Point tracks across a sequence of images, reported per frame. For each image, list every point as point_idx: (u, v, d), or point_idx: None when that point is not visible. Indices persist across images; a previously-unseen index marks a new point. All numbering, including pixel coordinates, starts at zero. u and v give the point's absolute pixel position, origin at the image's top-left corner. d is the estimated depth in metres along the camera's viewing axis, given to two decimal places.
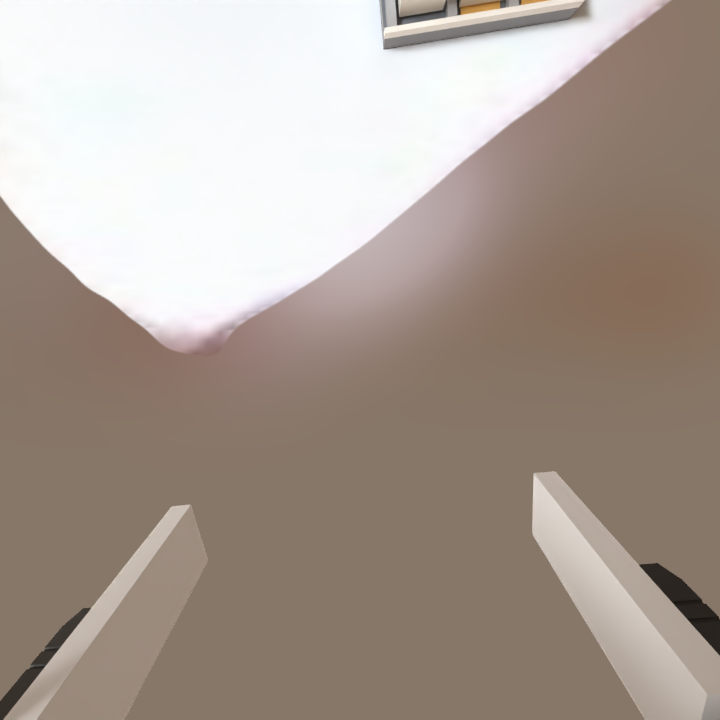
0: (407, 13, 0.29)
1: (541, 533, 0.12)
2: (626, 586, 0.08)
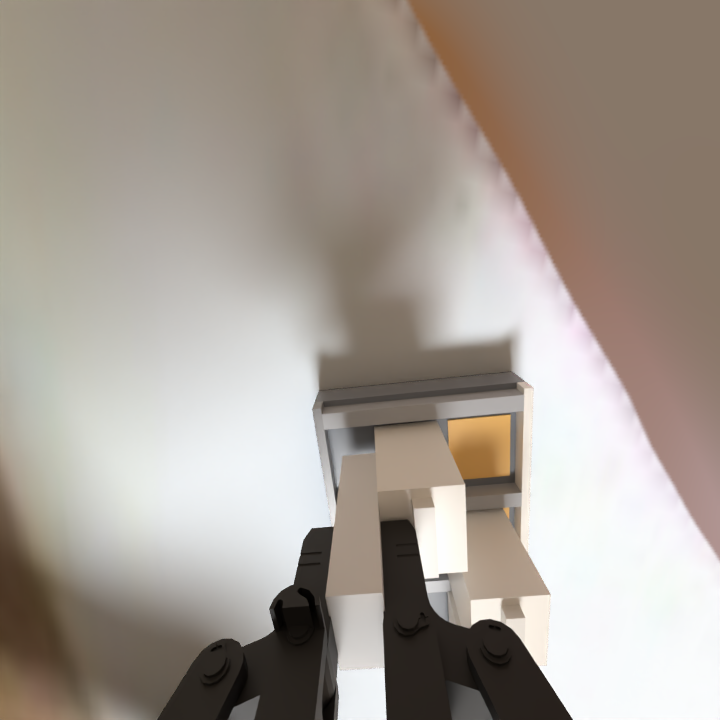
0: None
1: None
2: (359, 532, 0.11)
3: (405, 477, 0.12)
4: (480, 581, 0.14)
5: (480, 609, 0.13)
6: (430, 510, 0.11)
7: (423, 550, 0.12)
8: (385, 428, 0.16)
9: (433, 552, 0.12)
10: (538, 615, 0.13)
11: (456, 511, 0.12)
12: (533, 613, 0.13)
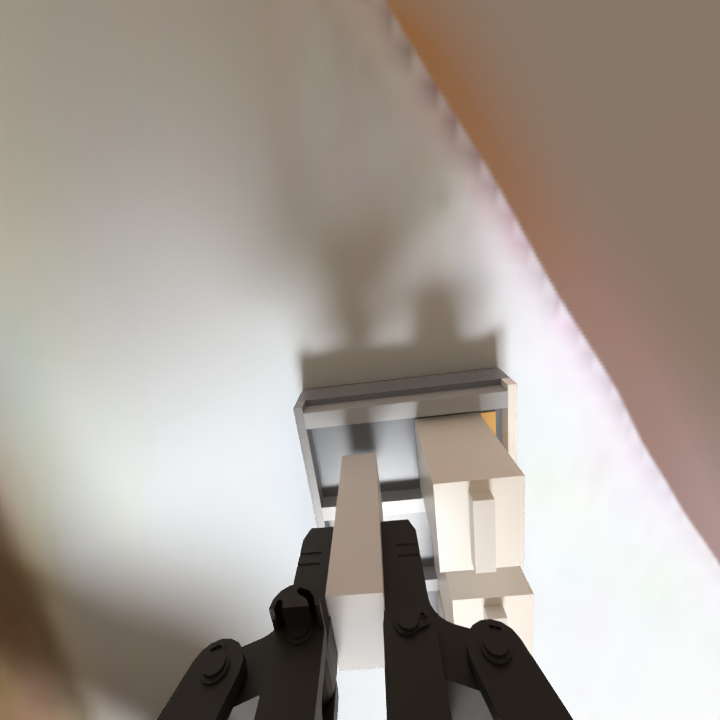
0: None
1: None
2: (359, 532, 0.11)
3: (459, 468, 0.12)
4: (463, 581, 0.13)
5: (462, 609, 0.13)
6: (490, 502, 0.11)
7: (481, 543, 0.11)
8: (426, 421, 0.16)
9: (491, 545, 0.11)
10: (522, 615, 0.13)
11: (514, 503, 0.11)
12: (516, 613, 0.13)
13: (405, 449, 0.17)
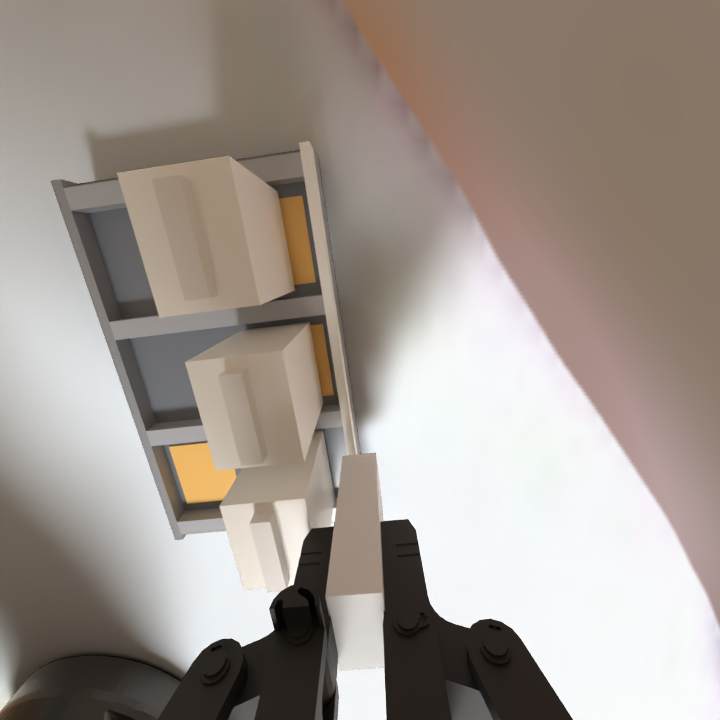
0: (332, 489, 0.17)
1: None
2: (359, 532, 0.11)
3: None
4: (215, 353, 0.11)
5: (200, 376, 0.10)
6: (175, 180, 0.08)
7: (180, 252, 0.09)
8: None
9: (194, 254, 0.09)
10: (275, 384, 0.10)
11: (226, 203, 0.09)
12: (268, 381, 0.10)
13: None
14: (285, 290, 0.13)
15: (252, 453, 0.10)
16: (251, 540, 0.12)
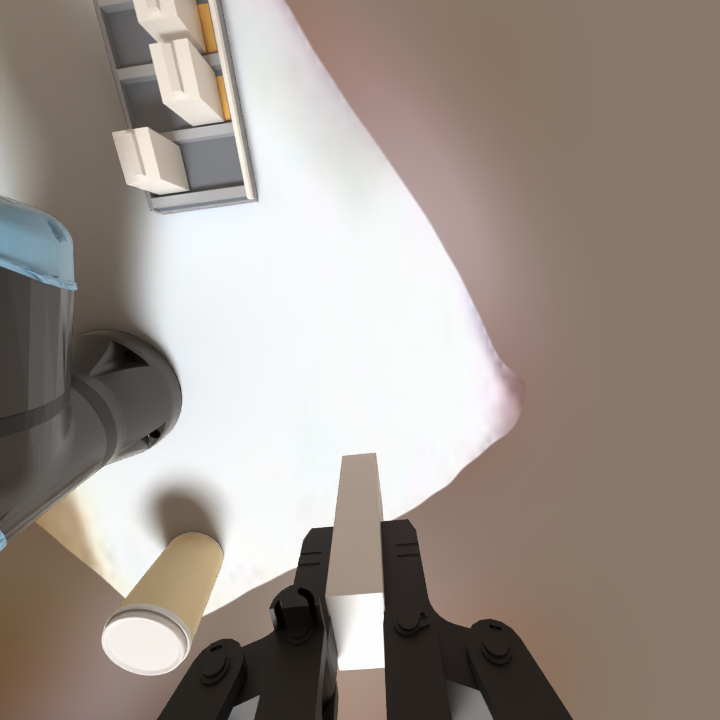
0: (186, 182, 0.32)
1: None
2: (359, 532, 0.11)
3: None
4: None
5: (155, 51, 0.26)
6: None
7: None
8: None
9: None
10: (185, 55, 0.26)
11: None
12: (182, 53, 0.26)
13: None
14: (197, 40, 0.28)
15: (176, 84, 0.26)
16: (126, 152, 0.27)
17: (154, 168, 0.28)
